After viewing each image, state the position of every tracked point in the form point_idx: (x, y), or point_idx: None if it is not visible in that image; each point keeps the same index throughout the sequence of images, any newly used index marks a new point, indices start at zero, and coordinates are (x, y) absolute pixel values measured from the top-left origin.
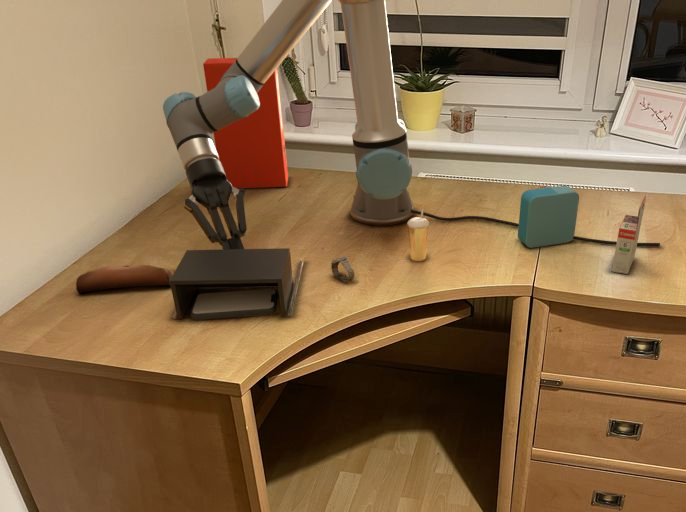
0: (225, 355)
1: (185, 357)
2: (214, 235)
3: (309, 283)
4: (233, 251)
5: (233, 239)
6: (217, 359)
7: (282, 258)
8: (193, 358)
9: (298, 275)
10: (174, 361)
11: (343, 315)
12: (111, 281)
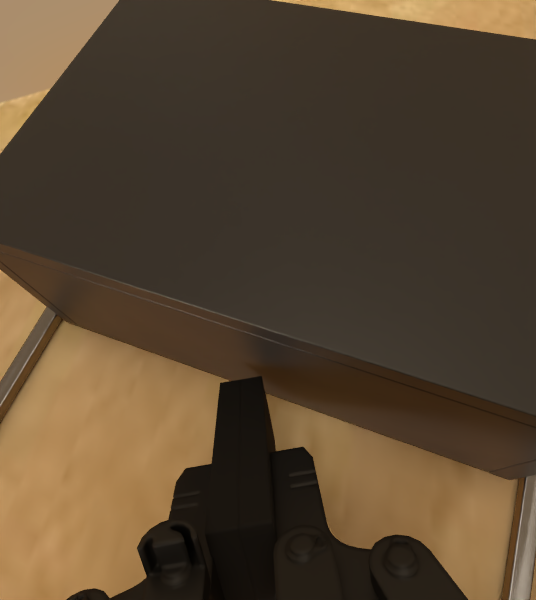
0: (387, 17)
1: (497, 30)
2: (400, 553)
3: (6, 318)
4: (272, 295)
5: (227, 513)
6: (409, 8)
7: (43, 128)
8: (474, 22)
9: (10, 376)
10: (527, 21)
11: (29, 100)
12: None
